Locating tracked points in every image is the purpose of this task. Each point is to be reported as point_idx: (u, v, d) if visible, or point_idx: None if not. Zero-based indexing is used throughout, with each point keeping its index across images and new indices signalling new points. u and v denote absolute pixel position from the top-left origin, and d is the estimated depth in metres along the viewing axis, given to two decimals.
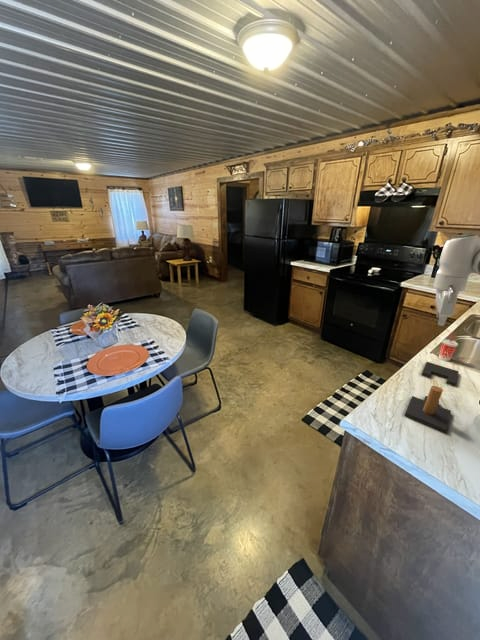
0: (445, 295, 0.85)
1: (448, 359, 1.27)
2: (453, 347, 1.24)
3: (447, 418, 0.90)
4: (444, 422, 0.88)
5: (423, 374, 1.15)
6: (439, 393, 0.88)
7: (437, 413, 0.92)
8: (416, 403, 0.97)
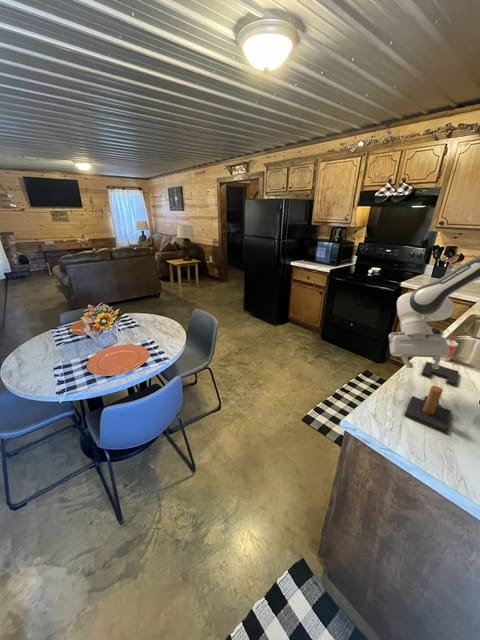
0: None
1: (448, 359, 1.27)
2: (453, 347, 1.24)
3: (447, 418, 0.90)
4: (444, 422, 0.88)
5: (423, 374, 1.15)
6: (439, 393, 0.88)
7: (437, 413, 0.92)
8: (416, 403, 0.97)
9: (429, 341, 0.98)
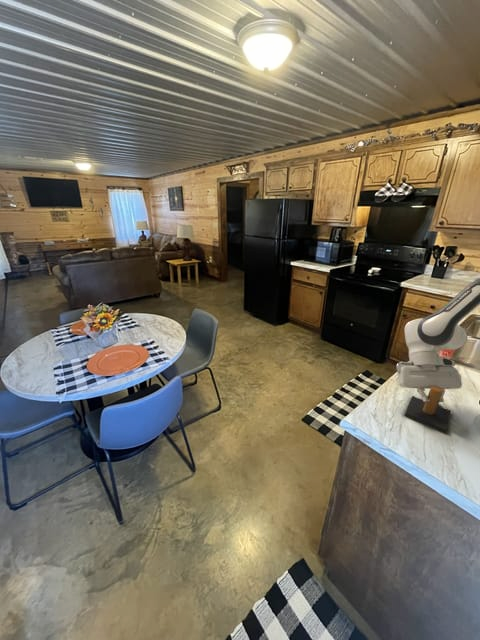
0: None
1: None
2: None
3: (447, 418, 0.90)
4: (444, 422, 0.88)
5: None
6: (439, 393, 0.88)
7: (437, 413, 0.92)
8: (416, 403, 0.97)
9: (440, 372, 0.93)
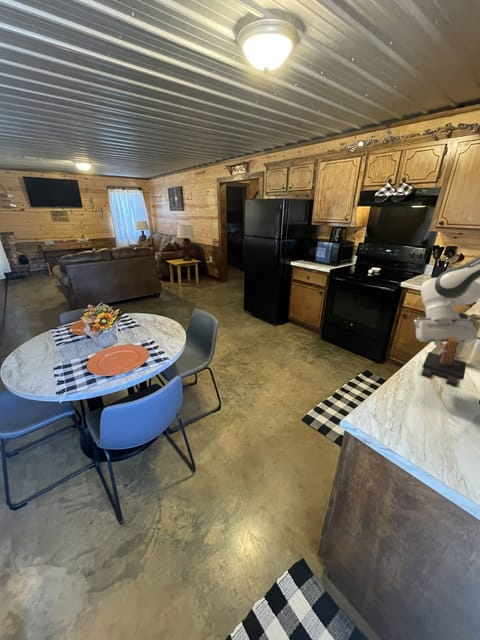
0: None
1: None
2: None
3: (463, 368, 0.95)
4: (461, 371, 0.94)
5: (423, 374, 1.15)
6: (456, 343, 0.93)
7: (453, 364, 0.98)
8: (433, 357, 1.02)
9: (456, 326, 0.98)
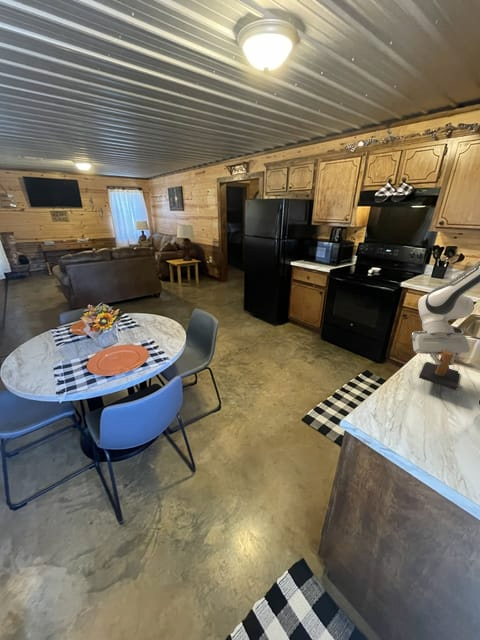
0: None
1: None
2: None
3: (457, 379, 1.02)
4: (454, 382, 1.00)
5: None
6: (450, 356, 1.00)
7: (448, 375, 1.04)
8: (429, 368, 1.09)
9: (450, 339, 1.05)
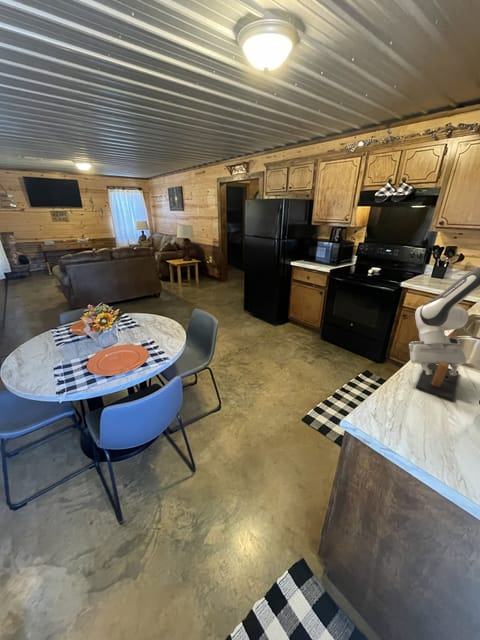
0: None
1: None
2: None
3: (452, 390, 1.04)
4: (450, 392, 1.02)
5: None
6: (446, 367, 1.02)
7: (443, 386, 1.06)
8: (425, 378, 1.11)
9: (447, 350, 1.07)
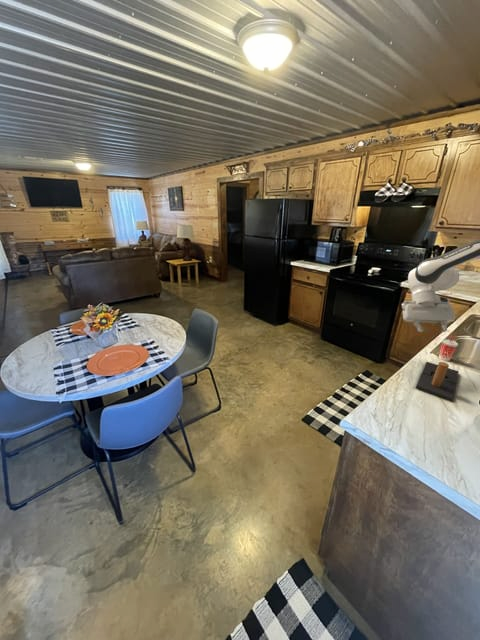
0: None
1: (448, 359, 1.27)
2: (453, 347, 1.24)
3: (452, 390, 1.04)
4: (450, 392, 1.02)
5: None
6: (446, 367, 1.02)
7: (443, 386, 1.06)
8: (425, 378, 1.11)
9: (437, 308, 1.12)
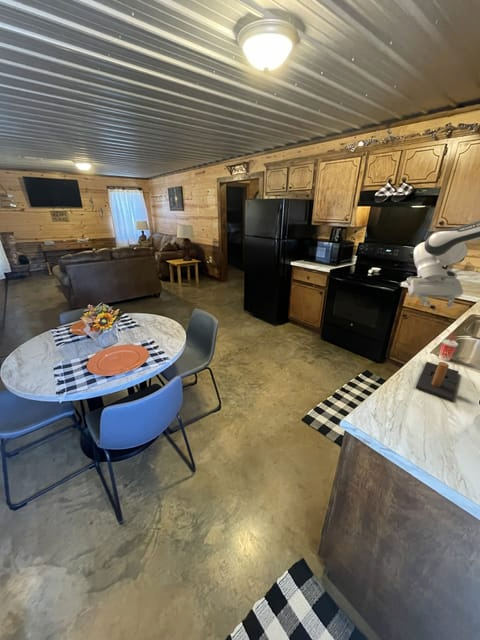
0: None
1: (448, 359, 1.27)
2: (453, 347, 1.24)
3: (452, 390, 1.04)
4: (450, 392, 1.02)
5: None
6: (446, 367, 1.02)
7: (443, 386, 1.06)
8: (425, 378, 1.11)
9: (444, 283, 1.09)
